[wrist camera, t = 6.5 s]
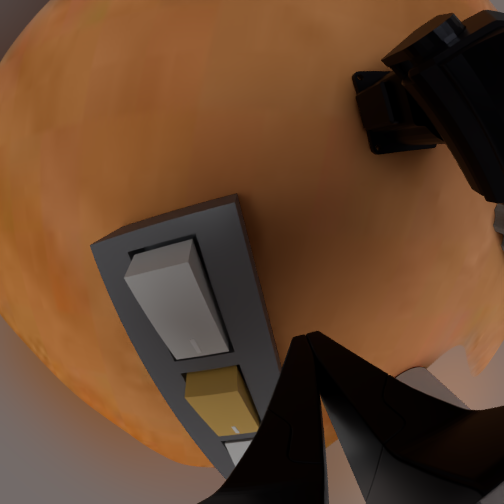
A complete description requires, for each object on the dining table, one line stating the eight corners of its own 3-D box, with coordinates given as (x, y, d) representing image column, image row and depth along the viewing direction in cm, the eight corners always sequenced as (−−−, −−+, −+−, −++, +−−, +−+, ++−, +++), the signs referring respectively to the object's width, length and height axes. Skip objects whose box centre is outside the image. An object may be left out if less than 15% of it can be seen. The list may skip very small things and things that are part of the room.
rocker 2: (236, 364, 17) (237, 391, 15) (258, 409, 21) (260, 431, 19) (186, 372, 18) (184, 398, 16) (218, 415, 21) (218, 437, 19)
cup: (378, 370, 24) (427, 457, 13) (443, 348, 24) (499, 414, 13) (365, 420, 27) (396, 495, 15) (424, 399, 27) (462, 461, 15)
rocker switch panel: (236, 193, 19) (234, 202, 14) (299, 435, 27) (305, 468, 22) (119, 227, 19) (87, 245, 14) (225, 447, 27) (223, 479, 23)
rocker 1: (192, 238, 15) (188, 262, 13) (227, 325, 18) (229, 352, 16) (134, 254, 15) (123, 278, 13) (179, 334, 18) (176, 360, 16)
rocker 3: (264, 424, 22) (264, 438, 19) (278, 467, 22) (279, 481, 20) (227, 429, 22) (224, 444, 20) (245, 471, 22) (244, 485, 20)
